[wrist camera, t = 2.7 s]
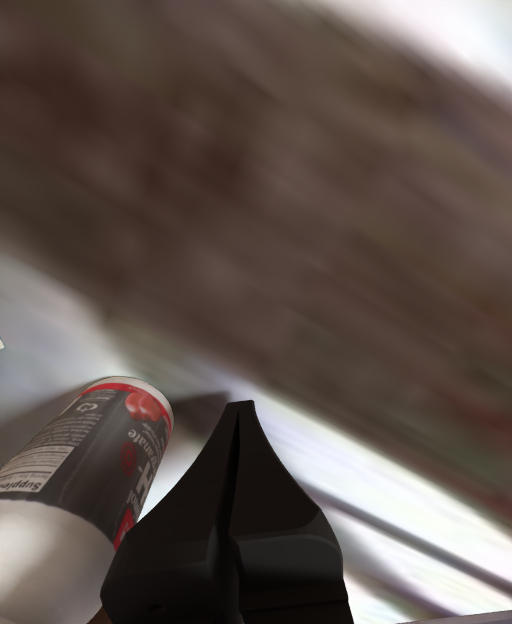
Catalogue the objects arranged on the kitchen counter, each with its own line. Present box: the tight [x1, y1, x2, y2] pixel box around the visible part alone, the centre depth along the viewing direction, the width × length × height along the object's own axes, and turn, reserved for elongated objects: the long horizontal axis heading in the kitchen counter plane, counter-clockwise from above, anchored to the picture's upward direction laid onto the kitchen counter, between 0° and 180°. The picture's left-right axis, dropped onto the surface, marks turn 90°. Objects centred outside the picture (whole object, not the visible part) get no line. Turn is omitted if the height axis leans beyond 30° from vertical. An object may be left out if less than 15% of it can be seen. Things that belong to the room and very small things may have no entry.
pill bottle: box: [0, 377, 174, 624], centre depth 9 cm, size 5×5×10 cm
